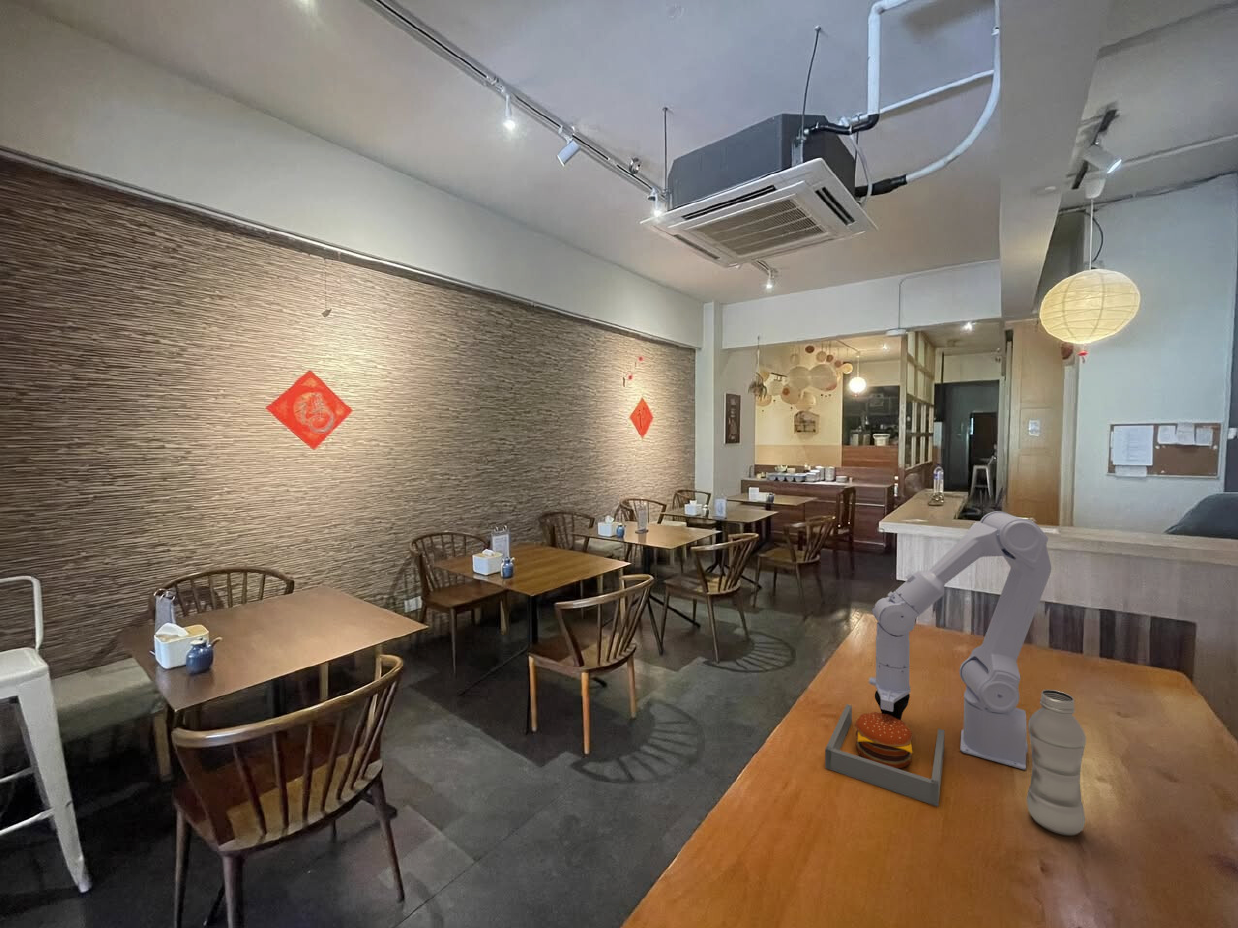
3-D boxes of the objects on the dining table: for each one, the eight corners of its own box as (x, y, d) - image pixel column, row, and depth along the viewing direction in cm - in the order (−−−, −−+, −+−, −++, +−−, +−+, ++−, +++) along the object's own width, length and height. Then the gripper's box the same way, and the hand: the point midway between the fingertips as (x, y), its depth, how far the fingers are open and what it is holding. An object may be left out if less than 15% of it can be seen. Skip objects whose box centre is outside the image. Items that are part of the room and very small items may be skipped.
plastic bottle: (1096, 845, 72) (1100, 708, 71) (1041, 839, 73) (1045, 704, 72) (1066, 812, 78) (1069, 686, 77) (1016, 807, 80) (1019, 683, 79)
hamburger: (853, 734, 100) (854, 701, 100) (909, 745, 96) (910, 711, 96) (854, 762, 91) (855, 726, 91) (916, 776, 87) (917, 738, 87)
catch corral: (944, 748, 95) (944, 730, 95) (938, 806, 80) (938, 785, 80) (846, 720, 105) (846, 703, 104) (825, 767, 90) (825, 748, 90)
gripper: (875, 644, 106) (875, 707, 107) (862, 671, 94) (862, 741, 95) (914, 651, 102) (913, 717, 103) (906, 680, 90) (905, 754, 91)
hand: (891, 729), depth 98 cm, fingers closed
